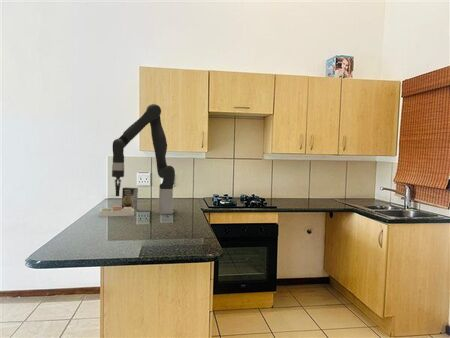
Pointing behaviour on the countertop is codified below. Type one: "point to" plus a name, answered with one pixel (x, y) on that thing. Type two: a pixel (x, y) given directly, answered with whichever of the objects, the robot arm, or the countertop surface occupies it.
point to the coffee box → (129, 197)
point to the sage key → (106, 209)
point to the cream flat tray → (116, 213)
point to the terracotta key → (117, 208)
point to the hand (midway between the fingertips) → (117, 196)
